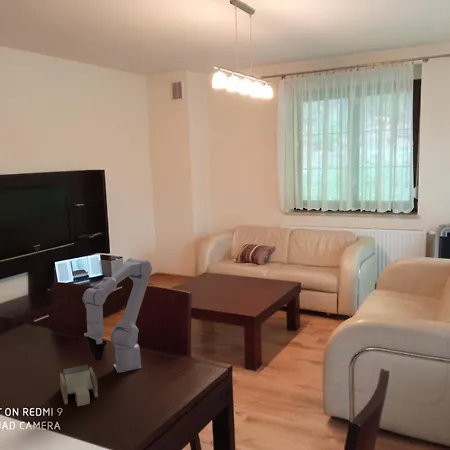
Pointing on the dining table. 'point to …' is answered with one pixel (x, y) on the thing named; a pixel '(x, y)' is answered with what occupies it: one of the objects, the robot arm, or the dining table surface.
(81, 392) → the plain off-white cube
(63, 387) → the tan piece
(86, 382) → the pale grey slab
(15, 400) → the dining table surface
